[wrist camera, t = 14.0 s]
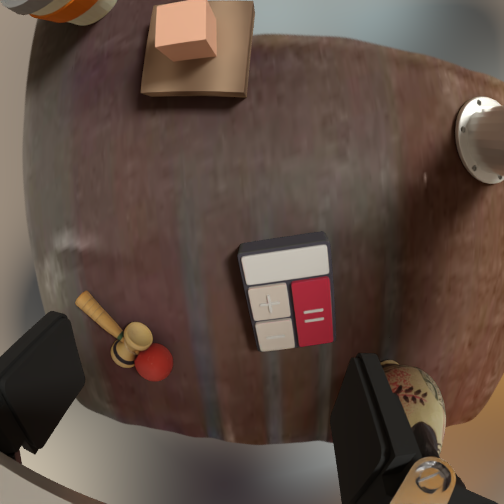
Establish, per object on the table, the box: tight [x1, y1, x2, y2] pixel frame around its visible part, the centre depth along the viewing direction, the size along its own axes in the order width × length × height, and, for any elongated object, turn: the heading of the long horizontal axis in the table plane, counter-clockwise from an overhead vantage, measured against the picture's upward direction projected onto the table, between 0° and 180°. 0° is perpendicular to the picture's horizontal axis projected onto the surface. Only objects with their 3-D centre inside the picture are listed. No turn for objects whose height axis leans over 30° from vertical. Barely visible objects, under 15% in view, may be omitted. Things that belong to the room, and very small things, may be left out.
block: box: [155, 0, 217, 62], centre depth 26 cm, size 5×5×6 cm
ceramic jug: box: [380, 337, 466, 489], centre depth 31 cm, size 17×15×30 cm
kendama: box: [75, 291, 173, 381], centre depth 43 cm, size 8×6×18 cm
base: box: [141, 1, 255, 98], centre depth 30 cm, size 12×12×4 cm
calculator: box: [237, 231, 336, 352], centre depth 40 cm, size 11×4×15 cm
